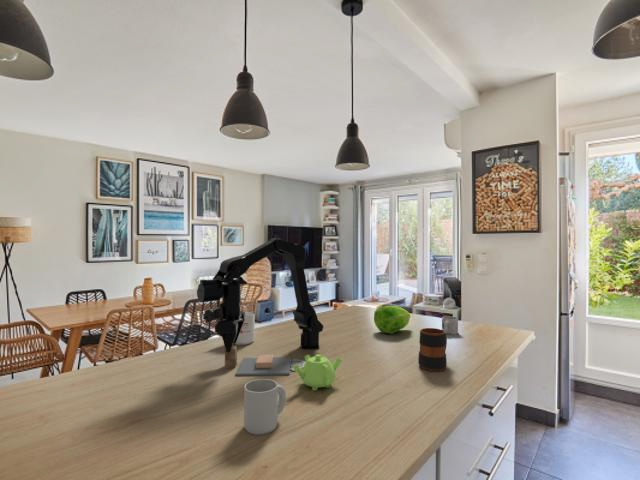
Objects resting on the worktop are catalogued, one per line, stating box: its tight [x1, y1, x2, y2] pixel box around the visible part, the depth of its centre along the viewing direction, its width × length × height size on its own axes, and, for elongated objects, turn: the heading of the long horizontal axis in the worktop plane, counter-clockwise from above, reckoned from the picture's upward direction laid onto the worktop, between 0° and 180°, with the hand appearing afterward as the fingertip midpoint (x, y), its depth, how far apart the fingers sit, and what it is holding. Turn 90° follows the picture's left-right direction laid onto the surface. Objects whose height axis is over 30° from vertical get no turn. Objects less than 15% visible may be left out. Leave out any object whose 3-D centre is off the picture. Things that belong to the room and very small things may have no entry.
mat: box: [235, 356, 292, 377], centre depth 112 cm, size 16×14×1 cm
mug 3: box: [441, 315, 459, 336], centre depth 154 cm, size 10×7×7 cm, turn 144°
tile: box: [256, 354, 275, 368], centre depth 113 cm, size 5×2×7 cm
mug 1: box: [233, 311, 256, 346], centre depth 139 cm, size 12×9×11 cm
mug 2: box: [417, 327, 448, 372], centre depth 114 cm, size 9×12×12 cm
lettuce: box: [373, 305, 411, 335], centre depth 157 cm, size 14×20×12 cm
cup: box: [243, 378, 287, 436], centre depth 78 cm, size 7×10×9 cm
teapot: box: [293, 353, 342, 392], centre depth 99 cm, size 11×12×8 cm
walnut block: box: [224, 345, 238, 369], centre depth 113 cm, size 3×3×6 cm
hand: (231, 347), depth 113 cm, fingers open, 9 cm apart
